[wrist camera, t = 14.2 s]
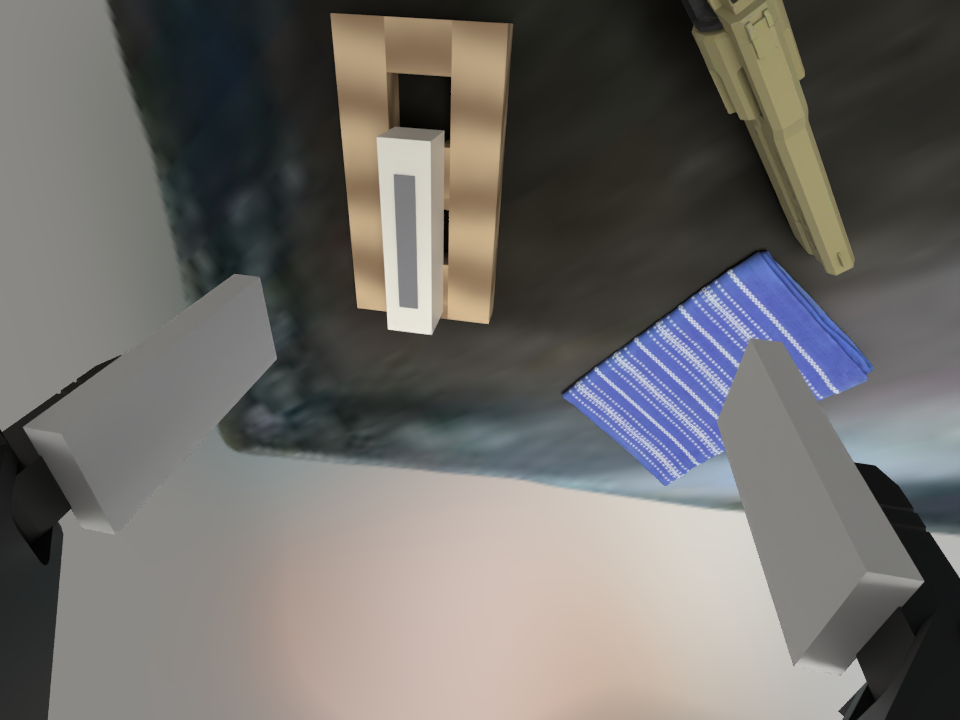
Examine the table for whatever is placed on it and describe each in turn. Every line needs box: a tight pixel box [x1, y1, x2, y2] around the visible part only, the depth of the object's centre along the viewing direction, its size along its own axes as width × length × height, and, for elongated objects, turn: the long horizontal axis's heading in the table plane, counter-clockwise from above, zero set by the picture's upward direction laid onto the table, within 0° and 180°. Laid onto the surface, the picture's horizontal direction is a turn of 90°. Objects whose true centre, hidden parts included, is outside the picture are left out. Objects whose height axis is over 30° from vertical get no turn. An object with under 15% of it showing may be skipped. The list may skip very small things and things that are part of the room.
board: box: [330, 13, 513, 324], centre depth 45 cm, size 24×13×3 cm, turn 177°
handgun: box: [681, 0, 855, 275], centre depth 35 cm, size 4×30×16 cm, turn 39°
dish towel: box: [562, 251, 873, 486], centre depth 51 cm, size 17×24×3 cm
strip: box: [377, 127, 444, 335], centre depth 44 cm, size 16×4×7 cm, turn 177°
